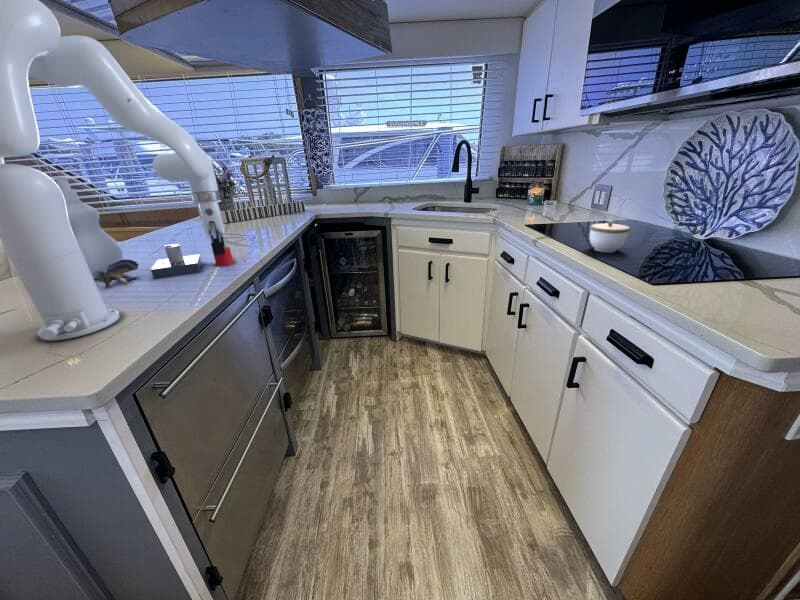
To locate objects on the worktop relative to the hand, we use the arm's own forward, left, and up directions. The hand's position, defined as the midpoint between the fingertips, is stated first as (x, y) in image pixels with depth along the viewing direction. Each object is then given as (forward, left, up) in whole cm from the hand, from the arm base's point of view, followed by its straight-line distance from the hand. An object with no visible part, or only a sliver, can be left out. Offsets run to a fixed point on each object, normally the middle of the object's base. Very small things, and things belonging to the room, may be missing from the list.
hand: (220, 251), depth 106 cm
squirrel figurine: (-4, +27, -5) cm, 27 cm away
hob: (0, +13, -4) cm, 13 cm away
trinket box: (-58, -113, -5) cm, 127 cm away
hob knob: (0, +13, -1) cm, 13 cm away
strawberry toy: (+1, -1, -4) cm, 4 cm away
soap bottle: (+9, +35, -5) cm, 36 cm away
